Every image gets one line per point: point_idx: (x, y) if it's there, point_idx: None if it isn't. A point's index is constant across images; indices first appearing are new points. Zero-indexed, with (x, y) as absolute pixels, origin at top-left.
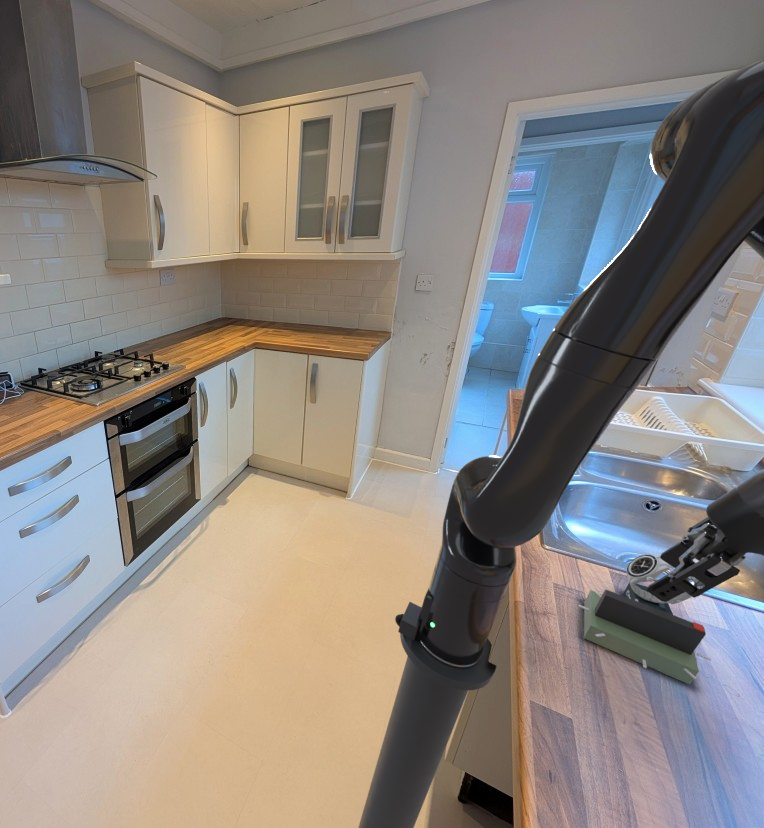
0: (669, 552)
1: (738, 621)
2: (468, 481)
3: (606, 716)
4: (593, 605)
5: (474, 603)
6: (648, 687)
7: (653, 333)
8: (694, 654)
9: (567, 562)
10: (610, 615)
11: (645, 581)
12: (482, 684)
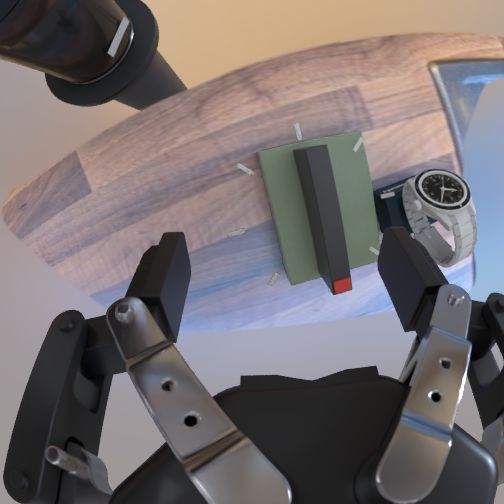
0: (400, 250)
1: None
2: None
3: (130, 217)
4: (319, 142)
5: None
6: (232, 239)
7: None
8: None
9: (424, 99)
10: (299, 169)
11: (414, 199)
12: (76, 105)
